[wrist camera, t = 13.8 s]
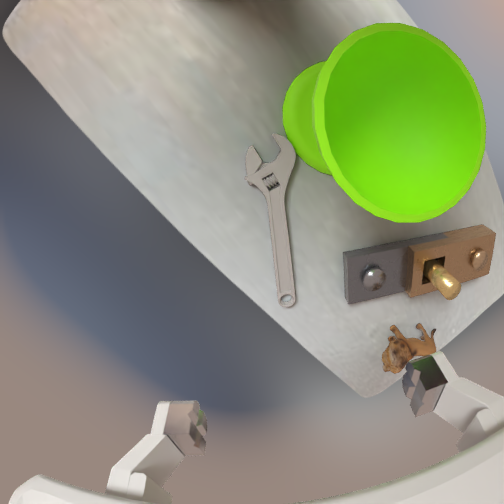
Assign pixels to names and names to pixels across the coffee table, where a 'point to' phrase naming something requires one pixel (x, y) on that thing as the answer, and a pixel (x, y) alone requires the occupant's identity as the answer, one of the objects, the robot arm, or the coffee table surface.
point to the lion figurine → (406, 349)
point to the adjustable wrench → (276, 208)
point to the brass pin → (441, 279)
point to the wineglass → (390, 122)
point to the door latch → (416, 263)
